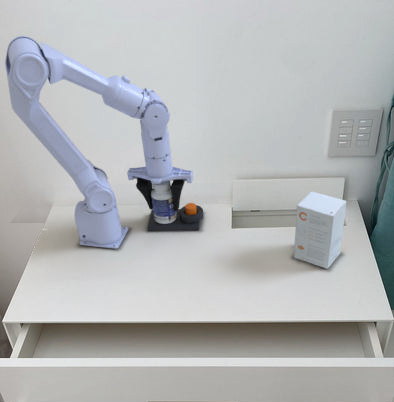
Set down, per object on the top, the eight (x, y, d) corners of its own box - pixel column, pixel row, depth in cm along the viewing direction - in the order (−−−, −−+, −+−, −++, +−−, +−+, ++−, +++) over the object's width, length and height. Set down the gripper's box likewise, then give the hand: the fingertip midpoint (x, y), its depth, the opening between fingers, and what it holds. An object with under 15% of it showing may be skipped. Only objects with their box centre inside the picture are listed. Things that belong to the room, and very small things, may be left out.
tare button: (185, 215, 132) (184, 209, 131) (186, 209, 134) (185, 202, 133) (196, 215, 132) (195, 208, 131) (197, 209, 134) (196, 202, 132)
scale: (148, 231, 134) (146, 220, 131) (152, 214, 138) (150, 203, 136) (202, 230, 132) (201, 219, 130) (204, 213, 137) (203, 202, 135)
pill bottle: (175, 225, 132) (171, 187, 125) (152, 224, 133) (147, 187, 126) (179, 212, 136) (175, 174, 129) (156, 211, 136) (151, 174, 129)
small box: (340, 253, 123) (348, 200, 113) (327, 269, 119) (333, 216, 110) (306, 242, 126) (311, 190, 117) (292, 257, 123) (296, 205, 113)
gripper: (119, 160, 121) (129, 215, 131) (185, 163, 118) (191, 219, 128) (129, 144, 126) (138, 198, 136) (193, 146, 123) (197, 202, 133)
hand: (164, 207), depth 132 cm, fingers closed on pill bottle, 5 cm apart
